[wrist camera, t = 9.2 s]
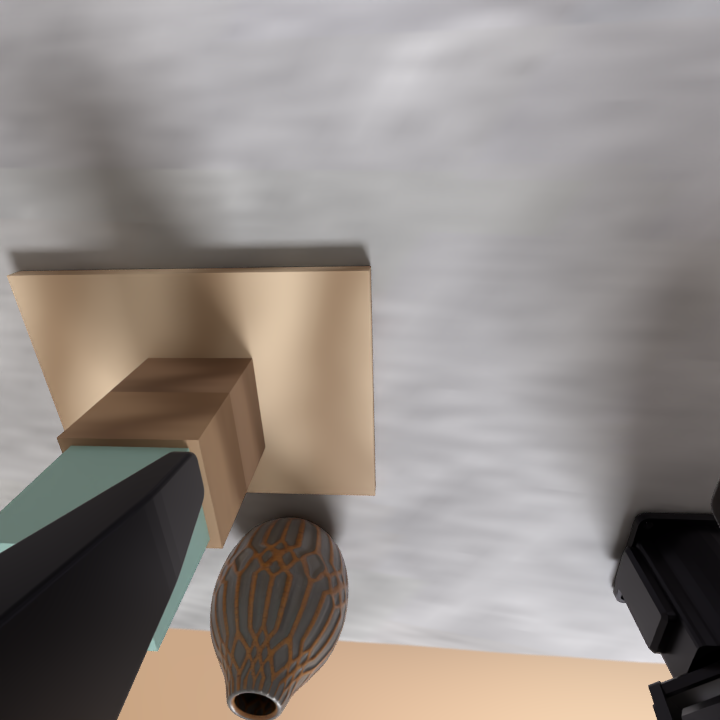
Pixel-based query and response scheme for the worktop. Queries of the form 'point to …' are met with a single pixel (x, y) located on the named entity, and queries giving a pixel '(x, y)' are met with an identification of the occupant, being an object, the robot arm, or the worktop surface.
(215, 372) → the tower base
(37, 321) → the beech board
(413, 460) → the worktop surface
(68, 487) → the cube
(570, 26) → the worktop surface
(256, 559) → the vase
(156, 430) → the tower top
